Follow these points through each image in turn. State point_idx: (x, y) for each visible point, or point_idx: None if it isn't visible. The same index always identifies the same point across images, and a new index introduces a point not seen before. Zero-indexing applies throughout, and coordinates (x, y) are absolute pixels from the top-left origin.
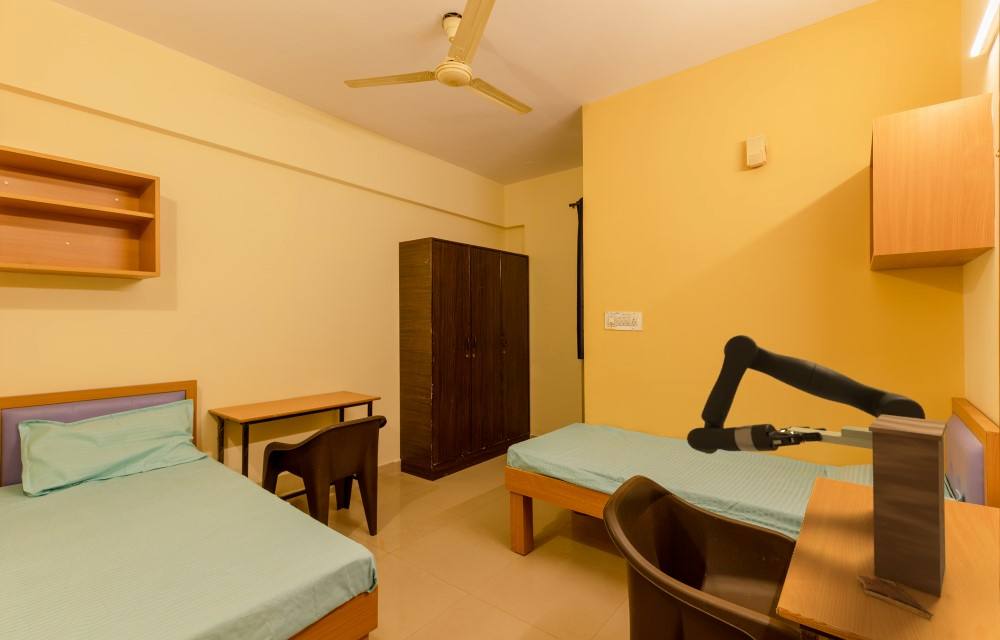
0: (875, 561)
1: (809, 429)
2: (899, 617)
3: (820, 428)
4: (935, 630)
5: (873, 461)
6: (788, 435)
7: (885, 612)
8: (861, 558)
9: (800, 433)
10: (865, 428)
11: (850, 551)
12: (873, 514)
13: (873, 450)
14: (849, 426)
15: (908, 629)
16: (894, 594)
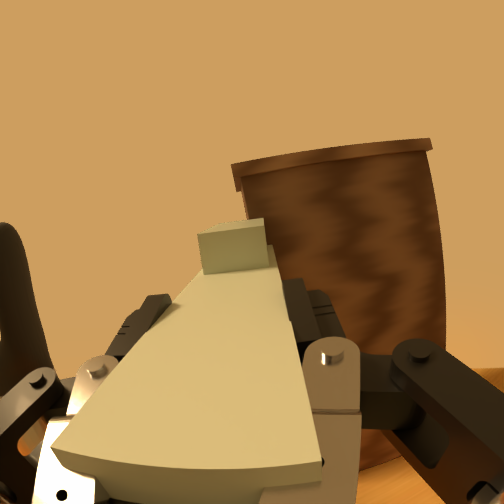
0: None
1: (165, 341)
2: (491, 381)
3: (152, 304)
4: (473, 369)
5: (438, 224)
6: (452, 403)
7: (499, 386)
8: (394, 480)
9: (340, 346)
10: (218, 226)
11: (383, 501)
12: (445, 344)
13: (433, 197)
14: (205, 231)
15: (498, 369)
16: None
